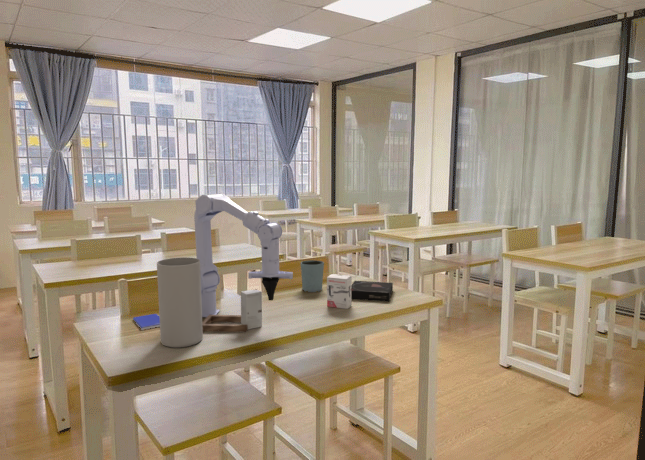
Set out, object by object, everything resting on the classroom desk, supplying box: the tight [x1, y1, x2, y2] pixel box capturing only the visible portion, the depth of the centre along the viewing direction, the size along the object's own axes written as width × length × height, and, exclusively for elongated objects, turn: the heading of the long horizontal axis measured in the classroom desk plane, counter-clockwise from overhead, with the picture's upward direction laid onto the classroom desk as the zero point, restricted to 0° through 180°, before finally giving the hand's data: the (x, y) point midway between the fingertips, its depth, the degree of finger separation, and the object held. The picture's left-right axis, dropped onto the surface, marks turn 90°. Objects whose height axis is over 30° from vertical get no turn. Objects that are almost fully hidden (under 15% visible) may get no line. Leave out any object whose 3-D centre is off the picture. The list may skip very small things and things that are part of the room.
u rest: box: [202, 314, 249, 333], centre depth 161 cm, size 15×11×2 cm
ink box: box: [326, 273, 352, 310], centre depth 182 cm, size 9×5×12 cm, turn 68°
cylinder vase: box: [156, 256, 204, 349], centre depth 146 cm, size 12×12×25 cm
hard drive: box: [132, 313, 160, 331], centre depth 165 cm, size 2×8×12 cm
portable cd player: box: [351, 280, 394, 303], centre depth 199 cm, size 16×17×4 cm
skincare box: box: [240, 289, 263, 330], centre depth 160 cm, size 6×4×12 cm
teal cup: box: [300, 259, 325, 293], centre depth 207 cm, size 10×10×12 cm
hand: (271, 299), depth 159 cm, fingers closed
